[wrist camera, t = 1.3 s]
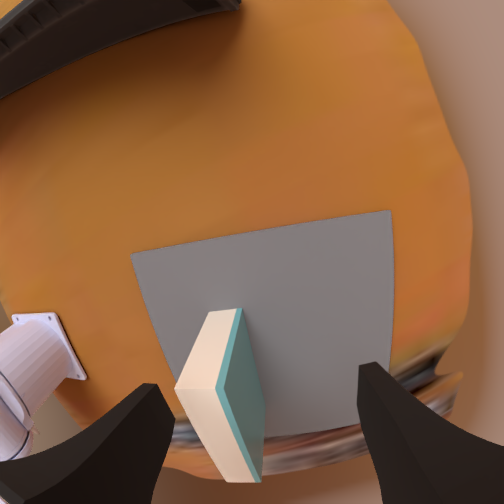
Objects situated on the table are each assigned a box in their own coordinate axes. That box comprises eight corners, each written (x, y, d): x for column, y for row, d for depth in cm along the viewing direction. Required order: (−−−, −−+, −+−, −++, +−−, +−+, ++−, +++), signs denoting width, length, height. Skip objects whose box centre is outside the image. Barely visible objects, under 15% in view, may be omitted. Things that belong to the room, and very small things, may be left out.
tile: (238, 407, 21) (226, 481, 14) (208, 311, 19) (174, 389, 11) (265, 405, 21) (261, 482, 13) (242, 307, 19) (223, 388, 11)
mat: (204, 435, 24) (204, 438, 23) (132, 253, 19) (130, 254, 18) (379, 415, 21) (380, 417, 21) (388, 209, 16) (390, 210, 16)
